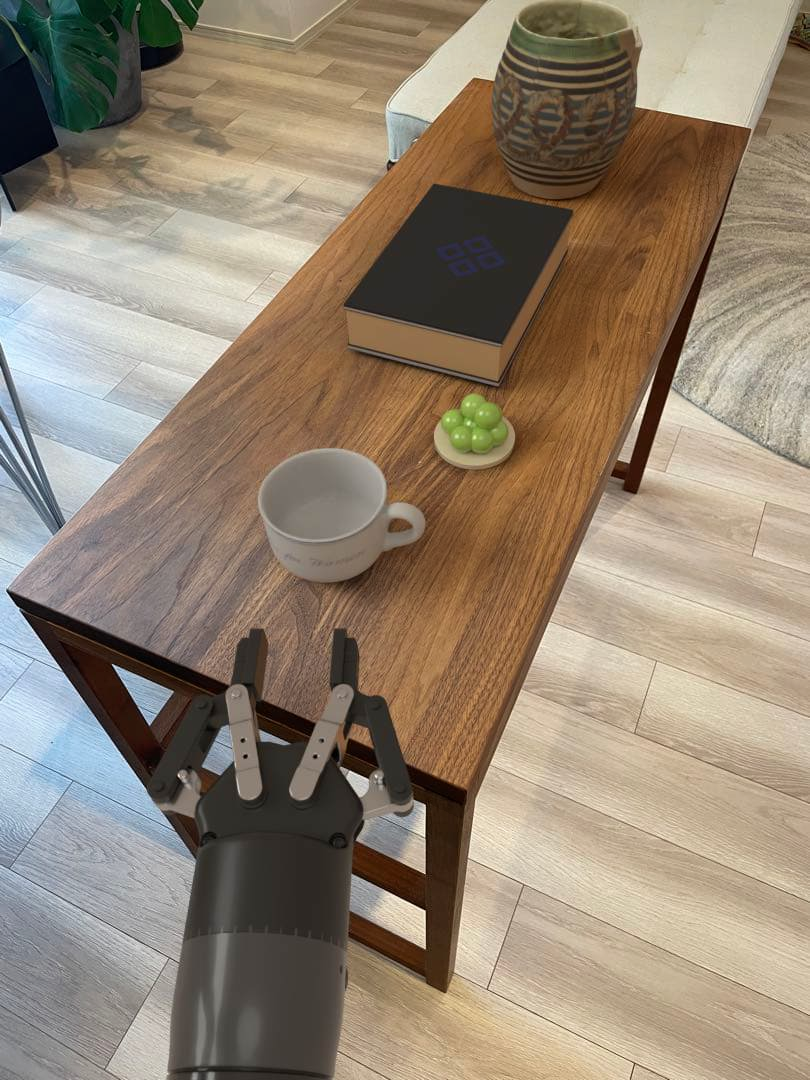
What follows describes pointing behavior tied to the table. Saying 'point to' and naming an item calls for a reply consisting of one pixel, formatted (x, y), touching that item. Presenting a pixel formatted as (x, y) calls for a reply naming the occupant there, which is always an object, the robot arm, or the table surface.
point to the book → (460, 283)
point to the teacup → (331, 514)
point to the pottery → (565, 95)
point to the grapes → (474, 434)
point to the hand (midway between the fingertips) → (300, 636)
